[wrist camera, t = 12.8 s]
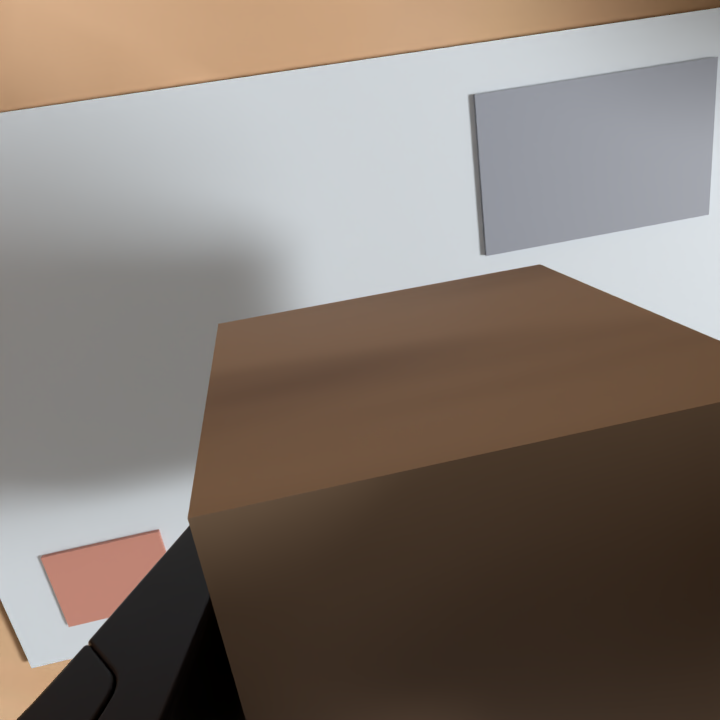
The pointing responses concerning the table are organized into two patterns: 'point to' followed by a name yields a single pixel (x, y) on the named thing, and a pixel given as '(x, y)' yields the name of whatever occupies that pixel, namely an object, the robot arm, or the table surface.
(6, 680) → the table surface
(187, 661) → the robot arm
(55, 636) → the envelope
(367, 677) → the walnut block
